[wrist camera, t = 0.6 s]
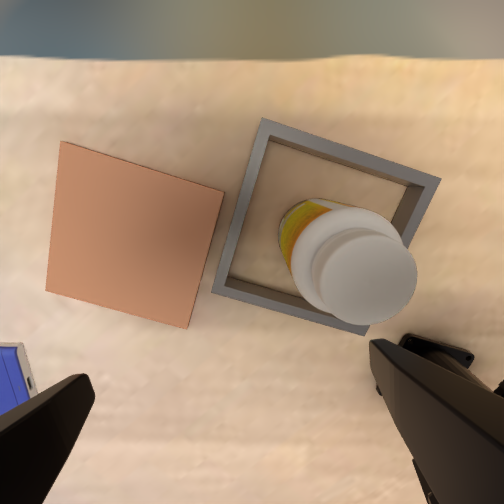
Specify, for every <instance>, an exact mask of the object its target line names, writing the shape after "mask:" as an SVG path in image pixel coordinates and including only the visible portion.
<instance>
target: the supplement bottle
mask: <svg viewBox="0 0 504 504" xmlns="http://www.w3.org/2000/svg"><path fill="white" fill-rule="evenodd" d="M278 241H279V246H280V249H281V251H282V254H283V256H284V259H285V261H286V264H287V266H288V268H289V271H290V273H291V275H292V278H293V280H294V283H295V285H296V287H297V289H298V290H299V292H300V293H301V295H302V296H303V297H304V298H305V299H306V300H307V301H308V302H309V303H310V304H312V305H313V306H314V307H316V308H318V309H320V310H322V311H325V312H328V313H332V314H333V315H334V316H335V317H337V318H338V319H340V320H342V321H344V322H347V323H350V324H354V325H372V324H377V323H380V322H383V321H386V320H388V319H390V318H391V317H393V316H395V315H396V314H397V313H399V312H400V311H401V310H402V309H403V308H404V307H405V306H406V305H407V303H408V302H409V300H410V299H411V297H412V295H413V293H414V290H415V287H416V283H417V268H416V264H415V261H414V259H413V257H412V255H411V253H410V252H409V251H408V250H407V248H406V247H405V246H403V243H402V240H401V238H400V236H399V234H398V232H397V230H396V229H395V228H394V226H393V225H392V224H391V223H390V222H389V221H388V220H386V219H385V218H384V217H382V216H381V215H379V214H377V213H375V212H373V211H370V210H367V209H364V208H359V207H356V206H351V205H347V204H343V203H339V202H335V201H330V200H326V199H308V200H305V201H302V202H300V203H298V204H296V205H295V206H293V207H292V208H291V209H290V210H289V211H288V212H287V213H286V214H285V216H284V217H283V219H282V221H281V223H280V227H279V231H278Z"/></svg>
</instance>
